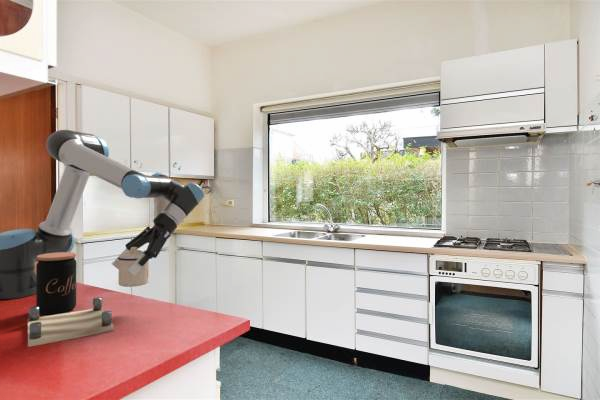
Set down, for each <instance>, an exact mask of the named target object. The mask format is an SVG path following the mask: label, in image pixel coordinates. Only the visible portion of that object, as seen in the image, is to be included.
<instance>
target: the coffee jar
mask: <svg viewBox="0 0 600 400" xmlns="http://www.w3.org/2000/svg"><path fill="white" fill-rule="evenodd" d="M36 258H37V260H38V262H36V264H35V273H36V294H35V298H36V299H35V301H36V302H35V304H36V305H35V306H39V316H51V315H57V314H63V313H70V312H73V311H74V309H75V308H76V307H77V260H76V259H75V258H77V253H76V252H72V251H71V252H57V253H47V254H41V255H38V256H37V257H36Z"/></svg>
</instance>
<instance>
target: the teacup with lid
mask: <svg viewBox="0 0 600 400" xmlns="http://www.w3.org/2000/svg"><path fill="white" fill-rule="evenodd" d="M143 252H144V251H142V250H141V249H137V247H131V250H129V251H127V252H126V253H124V254H121V253H120V254H121V255H120V254H119V255H118V257H117V258H118V259H119V269H118V285H119V286H121V287H126V288H132V287H141V286H144V285H147V284H148V283H149V263H150V262H149V260H150V259H149V260H148V262H147V263H146V264H145V265H144V266H143V267H142V268H141V269H140V270H139V272H138V273H137V274H136V275H135V276H133V275H132V274H131V273H130V272H129V271H128V269H129V268H130V267H131V266H132V264H133V263H134V262H135V261H136V260H137V259H138V258H139V257H140V256H141V255H142V254H144V253H143ZM144 255H145V254H144Z"/></svg>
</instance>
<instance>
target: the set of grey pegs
mask: <svg viewBox="0 0 600 400" xmlns="http://www.w3.org/2000/svg"><path fill="white" fill-rule="evenodd" d="M92 306H93V307H92V309H93V311H99V310H102V308H103V297H100V296H98V297H94V298H92ZM39 317H40V314H39V306H36V305H35V306H29V308H28V319H29V321H36V320H39ZM111 322H112V311H111V310H104V312H102V326H109V325H111ZM38 338H41V322H35V323H31V324H30V329H29V339H31V340H33V339H38Z"/></svg>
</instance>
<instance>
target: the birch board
mask: <svg viewBox="0 0 600 400" xmlns="http://www.w3.org/2000/svg"><path fill="white" fill-rule="evenodd" d="M104 311H105V310H104V308H103V307H102V310H99V311H93V308H90V309H85V310H78V311H70V312H68V313H63V314H57V315H51V316H45V315H43V316H39V320H36V321H29V318H27V348H30V347H34V346H41V345H45V344H51V343H57V342H61V341H67V340H72V339H76V338H81V337H82V338H83V337H87V336H93V335H97V334H99V335H100V334H103V333H108V332H109V333H110V332H113V331H114V330H115V329H114V328H115V327H114V324H113V322H112V321H111V325H109V326H102V312H104ZM35 322H41V338H38V339H33V340H31V339H29V329H30V324H31V323H35Z"/></svg>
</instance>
